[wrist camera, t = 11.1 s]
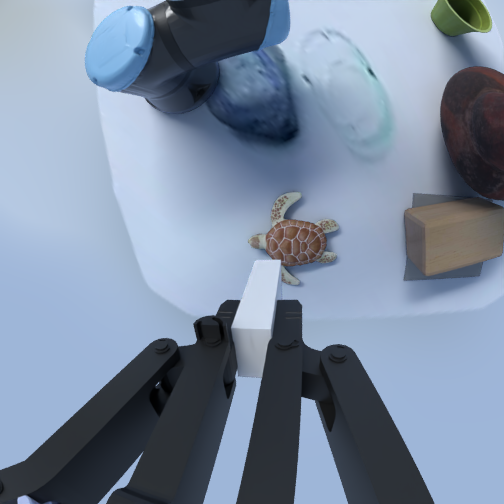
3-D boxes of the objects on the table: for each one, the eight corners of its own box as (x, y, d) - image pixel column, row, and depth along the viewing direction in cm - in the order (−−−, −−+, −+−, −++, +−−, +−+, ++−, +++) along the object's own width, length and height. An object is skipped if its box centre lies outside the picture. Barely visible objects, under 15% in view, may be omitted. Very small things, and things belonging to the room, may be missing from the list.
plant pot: (412, -3, 27) (432, -25, 17) (454, 7, 25) (477, -10, 14) (431, 41, 31) (456, 24, 21) (472, 50, 29) (500, 38, 18)
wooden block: (405, 257, 48) (478, 240, 44) (424, 279, 39) (503, 257, 34) (401, 208, 45) (478, 195, 41) (423, 222, 36) (506, 206, 31)
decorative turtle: (247, 190, 49) (242, 195, 45) (338, 191, 47) (343, 196, 42) (251, 280, 56) (247, 292, 51) (333, 282, 53) (336, 294, 49)
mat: (413, 193, 44) (413, 193, 44) (491, 200, 40) (492, 200, 40) (403, 279, 50) (404, 280, 50) (478, 275, 47) (479, 276, 46)
